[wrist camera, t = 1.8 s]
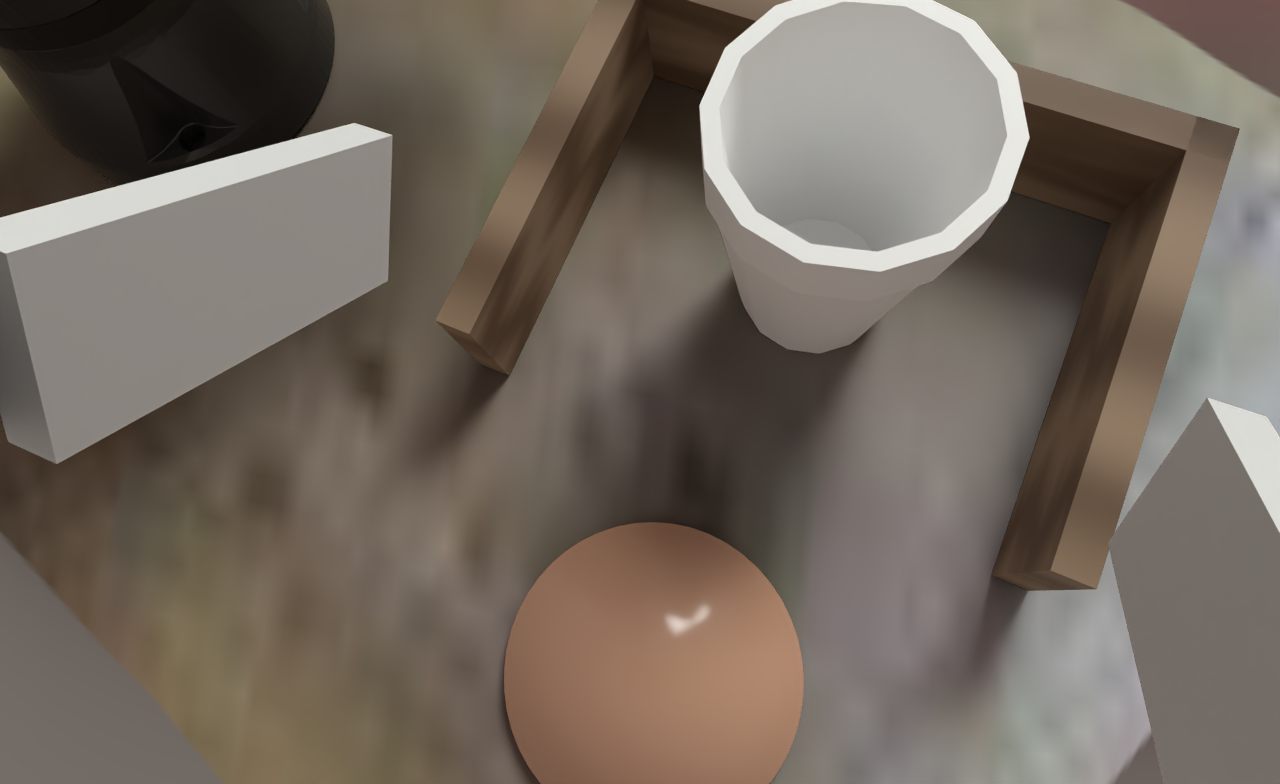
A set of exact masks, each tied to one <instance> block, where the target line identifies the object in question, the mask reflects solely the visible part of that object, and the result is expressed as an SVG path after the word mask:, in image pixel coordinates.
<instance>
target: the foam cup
mask: <svg viewBox="0 0 1280 784" xmlns="http://www.w3.org/2000/svg"><path fill="white" fill-rule="evenodd" d="M699 109H700V131H701V151H702V164H703V177H704V190H705V203H706V207H707V209H708V210H709V212H710V213H711V215H712V216H713V218H714V219H715V221H716V223H717V224H718V226H719V229H720V233H721V236H722V239H723V242H724V245H725V249H726V252H727V255H728V258H729V262H730V265H731V268H732V271H733V274H734V278H735V281H736V284H737V287H738V291H739V294H740V297H741V300H742V303H743V304H744V308H745V309H746V311H747V312H748V314H749V316H750V317H751V319H752V320H753V322H754V324H755V325H756V327H757V328H758V330H759V332H760V333H762V334H763V335H765V336H767V337H768V338H770V339H771V340H773V341H775V342H776V343H778V344H779V345H781V346H783V347H784V348H786V349H789V350H796V351H803V352H810V353H818V354H820V353H823V352H827V351H830V350H833V349H837V348H840V347H843V346H847V345H850V344H851V343H852V342H854V341H855V340H857V339H858V338H859V337H860V336H861V335H862V334H863V333H865V332H866V331H867V330H868V329H869V328H870V327H871V326H873V325H874V324H875V323H876V322H877V321H878V320H879V319H881V318H882V317H883V316H884V315H885V314H886V313H887V312H889V311H890V310H891V309H892V308H893V307H894V306H895V305H897V304H898V303H899V302H900V301H901V300H902V299H903V298H905V297H906V296H907V295H908V294H909V293H910V292H911V291H912V290H914V289H915V288H916V287H917V286H919V285H923V284H926V283H929V282H932V281H933V280H935V279H936V278H937V277H938V276H939V275H940V274H941V273H942V272H943V271H945V270H946V269H947V268H948V267H949V266H950V265H951V264H952V263H953V262H954V261H956V260H957V259H958V258H959V257H960V256H961V255H962V254H963V253H964V252H965V251H967V250H968V249H969V248H970V247H971V246H972V245H973V244H974V243H975V242H976V241H978V240H979V239H980V238H981V237H982V235H983V234H984V233H985V231H986V230H987V228H988V227H989V226H990V224H991V223H992V222H993V220H994V219H995V217H996V216H997V215H998V213H999V212H1000V211H1001V209H1002V208H1003V206H1004V205H1005V204H1006V202H1007V201H1008V198H1009V195H1010V192H1011V189H1012V186H1013V183H1014V181H1015V178H1016V175H1017V172H1018V169H1019V166H1020V163H1021V160H1022V158H1023V155H1024V152H1025V149H1026V146H1027V143H1028V140H1029V138H1030V137H1029V132H1028V127H1027V122H1026V117H1025V111H1024V106H1023V101H1022V96H1021V91H1020V85H1019V80H1018V75H1017V72H1016V71H1015V70H1014V69H1013V67H1012V66H1011V65H1010V64H1009V63H1008V61H1007V60H1006V59H1005V58H1004V56H1003V55H1002V54H1001V53H1000V51H999V50H998V49H997V48H996V47H995V45H994V44H993V43H992V42H991V40H990V39H989V38H988V37H987V35H986V34H985V33H984V32H983V31H982V29H981V28H980V27H979V26H978V24H977V23H976V22H975V21H974V20H972V19H970V18H968V17H966V16H964V15H962V14H960V13H958V12H956V11H953V10H951V9H949V8H947V7H945V6H943V5H941V4H939V3H937V2H935V1H933V0H791V1H788V2H785V3H781V4H778V5H775V6H774V7H773V8H772V9H771V10H769V11H768V12H767V13H766V14H765V15H763V16H762V17H761V18H760V19H759V20H757V21H756V22H755V23H754V24H753V25H752V26H750V27H749V28H748V29H747V30H746V31H744V32H743V33H742V34H741V35H740V36H738V37H737V38H736V39H735V40H734V41H733V42H731V43H730V44H729V45H728V46H727V47H725V49H724V51H723V54H722V56H721V58H720V60H719V63H718V65H717V67H716V69H715V72H714V74H713V76H712V78H711V80H710V83H709V85H708V87H707V89H706V92H705V94H704V96H703V98H702V101H701V103H700V105H699Z"/></svg>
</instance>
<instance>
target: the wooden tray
mask: <svg viewBox="0 0 1280 784" xmlns="http://www.w3.org/2000/svg"><path fill="white" fill-rule="evenodd" d="M788 1H791V0H598V2H597V4H596V6H595V8H594V9H593V11H592V13H591V15H590V17H589V19H588V21H587V23H586V25H585V27H584V29H583V31H582V33H581V35H580V37H579V39H578V41H577V43H576V45H575V47H574V49H573V51H572V53H571V55H570V57H569V59H568V61H567V63H566V64H565V66H564V68H563V70H562V72H561V74H560V76H559V78H558V80H557V82H556V84H555V86H554V88H553V90H552V92H551V94H550V96H549V98H548V100H547V102H546V104H545V106H544V108H543V110H542V112H541V114H540V116H539V117H538V119H537V121H536V123H535V125H534V127H533V129H532V131H531V133H530V135H529V137H528V139H527V141H526V143H525V145H524V147H523V149H522V151H521V153H520V155H519V157H518V159H517V161H516V163H515V165H514V167H513V169H512V171H511V172H510V174H509V176H508V178H507V180H506V182H505V184H504V186H503V188H502V190H501V192H500V194H499V196H498V198H497V200H496V202H495V204H494V206H493V208H492V210H491V212H490V214H489V216H488V218H487V220H486V222H485V224H484V225H483V227H482V229H481V231H480V233H479V235H478V237H477V239H476V241H475V243H474V245H473V247H472V249H471V251H470V253H469V255H468V257H467V259H466V261H465V263H464V265H463V267H462V269H461V271H460V273H459V275H458V277H457V279H456V280H455V282H454V284H453V286H452V288H451V290H450V292H449V294H448V296H447V298H446V300H445V302H444V304H443V306H442V308H441V310H440V312H439V314H438V316H437V318H436V320H435V321H436V322H437V323H438V324H439V325H440V326H442V327H443V328H444V329H445V330H446V331H447V332H448V333H449V334H450V335H451V336H452V337H453V338H454V339H455V340H456V341H457V342H458V343H459V344H460V345H461V346H462V347H463V348H464V349H465V350H466V351H467V352H468V353H469V354H470V355H471V356H472V357H474V358H475V359H476V360H477V361H478V362H479V363H480V364H481V365H484V366H486V367H489V368H491V369H493V370H496V371H498V372H501V373H503V374H506V375H508V376H509V375H510V373H511V371H512V369H513V367H514V365H515V363H516V361H517V359H518V357H519V355H520V353H521V351H522V348H523V346H524V344H525V342H526V340H527V338H528V336H529V334H530V332H531V330H532V328H533V326H534V324H535V322H536V319H537V317H538V315H539V313H540V311H541V309H542V307H543V305H544V303H545V301H546V299H547V297H548V295H549V293H550V290H551V288H552V286H553V284H554V282H555V280H556V278H557V276H558V274H559V272H560V270H561V268H562V266H563V263H564V261H565V259H566V257H567V255H568V253H569V251H570V249H571V247H572V245H573V243H574V241H575V239H576V237H577V234H578V232H579V230H580V228H581V226H582V224H583V222H584V220H585V218H586V216H587V214H588V212H589V210H590V208H591V205H592V203H593V201H594V199H595V197H596V195H597V193H598V191H599V189H600V187H601V185H602V183H603V181H604V179H605V176H606V174H607V172H608V170H609V168H610V166H611V164H612V162H613V160H614V158H615V156H616V154H617V152H618V149H619V147H620V145H621V143H622V141H623V139H624V137H625V135H626V133H627V131H628V129H629V127H630V125H631V123H632V120H633V118H634V116H635V114H636V112H637V110H638V108H639V106H640V104H641V102H642V100H643V98H644V96H645V94H646V91H647V89H648V87H649V85H650V83H651V81H652V79H653V77H654V76H655V77H658V78H661V79H664V80H668V81H671V82H674V83H677V84H680V85H683V86H686V87H689V88H692V89H695V90H699V91H702V92H706V89H707V87H708V85H709V83H710V80H711V78H712V76H713V74H714V72H715V69H716V67H717V65H718V63H719V60H720V58H721V56H722V54H723V51H724V49H725V47H727V46H728V45H729V44H730V43H731V42H733V41H734V40H735V39H736V38H737V37H738V36H740V35H741V34H742V33H743V32H744V31H746V30H747V29H748V28H749V27H750V26H752V25H753V24H754V23H755V22H756V21H757V20H759V19H760V18H761V17H762V16H763V15H765V14H766V13H767V12H768V11H769V10H771V9H772V8H773V7H774V6H775V5H778V4H781V3H785V2H788ZM1008 63H1009V64H1010V65H1011V66H1012V67H1013V69H1014V70H1015V71H1016V72H1017V75H1018V80H1019V85H1020V91H1021V96H1022V101H1023V106H1024V111H1025V117H1026V122H1027V127H1028V132H1029V137H1030V138H1029V140H1028V143H1027V146H1026V149H1025V152H1024V155H1023V158H1022V160H1021V163H1020V166H1019V169H1018V172H1017V175H1016V178H1015V181H1014V183H1013V186H1012V189H1011V191H1012V192H1015V193H1018V194H1021V195H1024V196H1027V197H1031V198H1034V199H1037V200H1040V201H1043V202H1046V203H1049V204H1052V205H1055V206H1059V207H1062V208H1065V209H1068V210H1071V211H1074V212H1077V213H1080V214H1083V215H1086V216H1090V217H1093V218H1096V219H1099V220H1102V221H1105V222H1108V223H1110V226H1109V229H1108V232H1107V235H1106V238H1105V241H1104V244H1103V247H1102V250H1101V253H1100V256H1099V259H1098V262H1097V265H1096V268H1095V271H1094V274H1093V277H1092V279H1091V282H1090V285H1089V288H1088V291H1087V294H1086V297H1085V300H1084V303H1083V306H1082V309H1081V312H1080V315H1079V318H1078V321H1077V324H1076V327H1075V330H1074V333H1073V336H1072V339H1071V342H1070V345H1069V347H1068V350H1067V353H1066V356H1065V359H1064V362H1063V365H1062V368H1061V371H1060V374H1059V377H1058V380H1057V383H1056V386H1055V389H1054V392H1053V395H1052V398H1051V401H1050V404H1049V407H1048V410H1047V413H1046V416H1045V418H1044V421H1043V424H1042V427H1041V430H1040V433H1039V436H1038V439H1037V442H1036V445H1035V448H1034V451H1033V454H1032V457H1031V460H1030V463H1029V466H1028V469H1027V472H1026V475H1025V478H1024V481H1023V484H1022V486H1021V489H1020V492H1019V495H1018V498H1017V501H1016V504H1015V507H1014V510H1013V513H1012V516H1011V519H1010V522H1009V525H1008V528H1007V531H1006V534H1005V537H1004V540H1003V543H1002V546H1001V549H1000V552H999V555H998V557H997V560H996V563H995V566H994V569H993V572H992V576H995V577H997V578H1000V579H1002V580H1004V581H1007V582H1009V583H1012V584H1014V585H1017V586H1019V587H1021V588H1024V589H1026V590H1029V591H1034V590H1080V589H1097V586H1098V583H1099V580H1100V577H1101V574H1102V570H1103V567H1104V564H1105V561H1106V558H1107V554H1108V551H1109V546H1108V542H1109V540H1110V539H1111V537H1112V536H1113V534H1114V532H1115V529H1116V525H1117V522H1118V519H1119V516H1120V512H1121V509H1122V506H1123V503H1124V500H1125V496H1126V493H1127V490H1128V487H1129V484H1130V480H1131V477H1132V474H1133V471H1134V467H1135V464H1136V461H1137V458H1138V455H1139V451H1140V448H1141V445H1142V442H1143V438H1144V435H1145V432H1146V429H1147V426H1148V422H1149V419H1150V416H1151V413H1152V410H1153V406H1154V403H1155V400H1156V397H1157V393H1158V390H1159V387H1160V384H1161V381H1162V377H1163V374H1164V371H1165V368H1166V364H1167V361H1168V358H1169V355H1170V352H1171V348H1172V345H1173V342H1174V339H1175V336H1176V332H1177V329H1178V326H1179V323H1180V319H1181V316H1182V313H1183V310H1184V307H1185V303H1186V300H1187V297H1188V294H1189V290H1190V287H1191V284H1192V281H1193V278H1194V274H1195V271H1196V268H1197V265H1198V262H1199V258H1200V255H1201V252H1202V249H1203V245H1204V242H1205V239H1206V236H1207V233H1208V229H1209V226H1210V223H1211V220H1212V216H1213V213H1214V210H1215V207H1216V204H1217V200H1218V197H1219V194H1220V191H1221V188H1222V184H1223V181H1224V178H1225V175H1226V171H1227V168H1228V165H1229V162H1230V159H1231V155H1232V152H1233V149H1234V146H1235V142H1236V139H1237V136H1238V133H1239V130H1240V129H1239V128H1235V127H1232V126H1228V125H1225V124H1222V123H1218V122H1215V121H1211V120H1208V119H1205V118H1201V117H1198V116H1194V115H1191V114H1187V113H1184V112H1181V111H1177V110H1174V109H1170V108H1167V107H1164V106H1160V105H1157V104H1153V103H1150V102H1146V101H1143V100H1140V99H1136V98H1133V97H1129V96H1126V95H1122V94H1119V93H1116V92H1112V91H1109V90H1105V89H1102V88H1099V87H1095V86H1092V85H1088V84H1085V83H1081V82H1078V81H1075V80H1071V79H1068V78H1064V77H1061V76H1057V75H1054V74H1051V73H1047V72H1044V71H1040V70H1037V69H1034V68H1030V67H1027V66H1023V65H1020V64H1016V63H1013V62H1010V61H1008Z"/></svg>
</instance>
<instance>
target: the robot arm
mask: <svg viewBox="0 0 1280 784" xmlns="http://www.w3.org/2000/svg"><path fill="white" fill-rule="evenodd" d="M334 41H335V38H334V26H333V20H332V16H331V12H330V9H329V6H328V3H327V1H326V0H0V66H1V67H2V69H3V70H4V71H5V73H6V74H7V76H8V77H9V78H10V80H11V81H12V82H13V84H14V85H15V87H16V88H17V89H18V91H19V92H20V93H21V95H22V96H23V98H24V99H25V100H26V102H27V103H28V105H29V106H30V107H31V109H32V110H33V111H34V113H35V114H36V116H37V117H38V118H39V120H40V121H41V123H42V124H43V125H44V127H45V128H46V129H47V131H48V132H49V133H50V134H51V135H52V136H53V137H54V138H55V139H56V140H57V141H58V142H59V143H60V144H61V145H62V146H63V147H64V148H65V149H67V150H68V151H69V152H70V153H72V154H73V155H75V156H76V157H77V158H79V159H80V160H82V161H83V162H85V163H86V164H88V165H89V166H91V167H92V168H93V169H95V170H96V171H98V172H99V173H101V174H102V175H104V176H105V177H107V178H109V179H111V180H112V181H115V182H117V183H119V184H121V185H120V186H116V187H113V188H109V189H105V190H101V191H98V192H94V193H90V194H87V195H83V196H79V197H75V198H72V199H68V200H64V201H60V202H57V203H53V204H49V205H45V206H42V207H38V208H34V209H30V210H27V211H23V212H19V213H15V214H12V215H8V216H4V217H0V415H1V418H2V422H3V426H4V429H5V433H6V437H7V440H8V442H10V443H12V444H14V445H16V446H18V447H20V448H23V449H25V450H27V451H29V452H31V453H33V454H36V455H38V456H40V457H42V458H44V459H47V460H49V461H51V462H53V463H55V464H58V463H60V462H62V461H63V460H65V459H67V458H69V457H71V456H72V455H74V454H76V453H78V452H80V451H81V450H83V449H85V448H87V447H89V446H90V445H92V444H94V443H96V442H98V441H100V440H101V439H103V438H105V437H107V436H109V435H110V434H112V433H114V432H116V431H118V430H119V429H121V428H123V427H125V426H127V425H128V424H130V423H132V422H134V421H136V420H137V419H139V418H141V417H143V416H145V415H147V414H148V413H150V412H152V411H154V410H156V409H157V408H159V407H161V406H163V405H165V404H166V403H168V402H170V401H172V400H174V399H175V398H177V397H179V396H181V395H183V394H184V393H186V392H188V391H190V390H192V389H193V388H195V387H197V386H199V385H201V384H203V383H204V382H206V381H208V380H210V379H212V378H213V377H215V376H217V375H219V374H221V373H222V372H224V371H226V370H228V369H230V368H231V367H233V366H235V365H237V364H239V363H240V362H242V361H244V360H246V359H248V358H249V357H251V356H253V355H255V354H257V353H259V352H260V351H262V350H264V349H266V348H268V347H269V346H271V345H273V344H275V343H277V342H278V341H280V340H282V339H284V338H286V337H287V336H289V335H291V334H293V333H295V332H296V331H298V330H300V329H302V328H304V327H306V326H307V325H309V324H311V323H313V322H315V321H316V320H318V319H320V318H322V317H324V316H325V315H327V314H329V313H331V312H333V311H334V310H336V309H338V308H340V307H342V306H343V305H345V304H347V303H349V302H351V301H352V300H354V299H356V298H358V297H360V296H362V295H363V294H365V293H367V292H369V291H371V290H372V289H374V288H376V287H378V286H380V285H381V284H383V283H385V282H387V281H388V264H389V233H390V201H391V169H392V138H393V135H390V134H387V133H384V132H381V131H378V130H375V129H372V128H369V127H366V126H362V125H359V124H356V123H352V124H348V125H345V126H341V127H337V128H333V129H330V130H326V131H322V132H318V133H315V134H311V135H307V136H303V137H300V138H296V139H292V140H290V139H291V138H292V137H293V136H294V135H295V134H296V133H297V132H298V130H299V129H300V128H301V127H302V126H303V124H304V123H305V122H306V120H307V119H308V118H309V116H310V115H311V113H312V112H313V110H314V108H315V107H316V105H317V103H318V101H319V99H320V97H321V95H322V93H323V91H324V89H325V86H326V83H327V81H328V78H329V74H330V71H331V67H332V62H333V56H334ZM1108 546H1109V550H1110V554H1111V559H1112V563H1113V567H1114V572H1115V576H1116V580H1117V584H1118V589H1119V593H1120V597H1121V602H1122V606H1123V610H1124V614H1125V619H1126V623H1127V627H1128V632H1129V636H1130V640H1131V645H1132V649H1133V653H1134V657H1135V662H1136V666H1137V670H1138V675H1139V679H1140V683H1141V687H1142V692H1143V696H1144V700H1145V705H1146V709H1147V713H1148V717H1149V722H1150V726H1151V730H1152V735H1153V739H1154V743H1155V748H1156V752H1157V756H1158V760H1159V765H1160V769H1161V773H1162V778H1163V782H1164V784H1280V437H1279V435H1278V434H1277V432H1276V431H1275V429H1274V428H1273V426H1272V424H1271V423H1270V421H1269V420H1268V418H1267V417H1266V416H1263V415H1260V414H1256V413H1253V412H1250V411H1247V410H1244V409H1241V408H1238V407H1235V406H1232V405H1228V404H1225V403H1222V402H1219V401H1216V400H1213V399H1210V398H1207V399H1206V400H1205V402H1204V403H1203V405H1202V406H1201V408H1200V409H1199V410H1198V412H1197V413H1196V415H1195V416H1194V418H1193V419H1192V421H1191V422H1190V424H1189V425H1188V426H1187V428H1186V429H1185V431H1184V432H1183V434H1182V435H1181V437H1180V438H1179V440H1178V441H1177V443H1176V444H1175V445H1174V447H1173V448H1172V450H1171V451H1170V453H1169V454H1168V456H1167V457H1166V459H1165V460H1164V462H1163V463H1162V464H1161V466H1160V467H1159V469H1158V470H1157V472H1156V473H1155V475H1154V476H1153V478H1152V479H1151V480H1150V482H1149V483H1148V485H1147V486H1146V488H1145V489H1144V491H1143V492H1142V494H1141V495H1140V497H1139V498H1138V499H1137V501H1136V502H1135V504H1134V505H1133V507H1132V508H1131V510H1130V511H1129V513H1128V514H1127V516H1126V517H1125V518H1124V520H1123V521H1122V523H1121V524H1120V526H1119V527H1118V529H1117V530H1116V532H1115V533H1114V534H1113V536H1112V537H1111V539H1110V540H1109V542H1108Z"/></svg>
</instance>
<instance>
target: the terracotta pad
mask: <svg viewBox="0 0 1280 784" xmlns="http://www.w3.org/2000/svg"><path fill="white" fill-rule="evenodd" d="M803 687H804V675H803V664H802V656H801V651H800V646H799V642H798V637H797V634H796V631H795V629H794V626H793V623H792V620H791V617H790V615H789V613H788V611H787V609H786V607H785V605H784V603H783V601H782V599H781V598H780V596H779V595H778V593H777V592H776V590H775V589H774V587H773V586H772V584H771V583H770V581H769V580H768V579H767V578H766V577H765V576H764V575H763V573H762V572H761V571H760V570H759V569H758V568H757V567H756V566H755V565H754V564H753V563H752V562H751V561H750V560H749V559H747V558H746V557H745V556H744V555H743V554H742V553H740V552H739V551H737V550H736V549H735V548H733V547H732V546H730V545H729V544H727V543H726V542H724V541H722V540H720V539H718V538H716V537H714V536H712V535H710V534H708V533H705V532H702V531H699V530H697V529H694V528H691V527H686V526H682V525H677V524H672V523H659V522H645V523H633V524H627V525H622V526H617V527H614V528H611V529H608V530H605V531H602V532H599V533H597V534H594V535H592V536H590V537H588V538H586V539H584V540H582V541H580V542H579V543H577V544H576V545H574V546H573V547H571V548H570V549H568V550H567V551H565V552H564V553H563V554H562V555H561V556H560V557H558V558H557V559H556V560H555V561H554V562H553V563H551V565H550V566H549V567H548V568H547V569H546V570H545V571H544V572H543V573H542V574H541V576H540V577H539V578H538V579H537V581H536V582H535V584H534V585H533V586H532V588H531V589H530V591H529V592H528V594H527V595H526V597H525V599H524V601H523V603H522V605H521V607H520V609H519V611H518V613H517V616H516V618H515V621H514V624H513V626H512V629H511V633H510V637H509V641H508V645H507V649H506V657H505V665H504V693H505V701H506V709H507V714H508V718H509V722H510V726H511V730H512V732H513V735H514V738H515V740H516V743H517V745H518V748H519V750H520V752H521V754H522V756H523V758H524V759H525V761H526V763H527V765H528V767H529V768H530V770H531V771H532V773H533V774H534V775H535V777H536V778H537V780H538V781H539V782H540V784H770V782H771V781H772V780H773V779H774V777H775V776H776V774H777V772H778V771H779V769H780V767H781V766H782V764H783V763H784V761H785V759H786V757H787V755H788V752H789V750H790V748H791V746H792V743H793V741H794V738H795V734H796V731H797V728H798V724H799V721H800V715H801V709H802V703H803Z"/></svg>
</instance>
